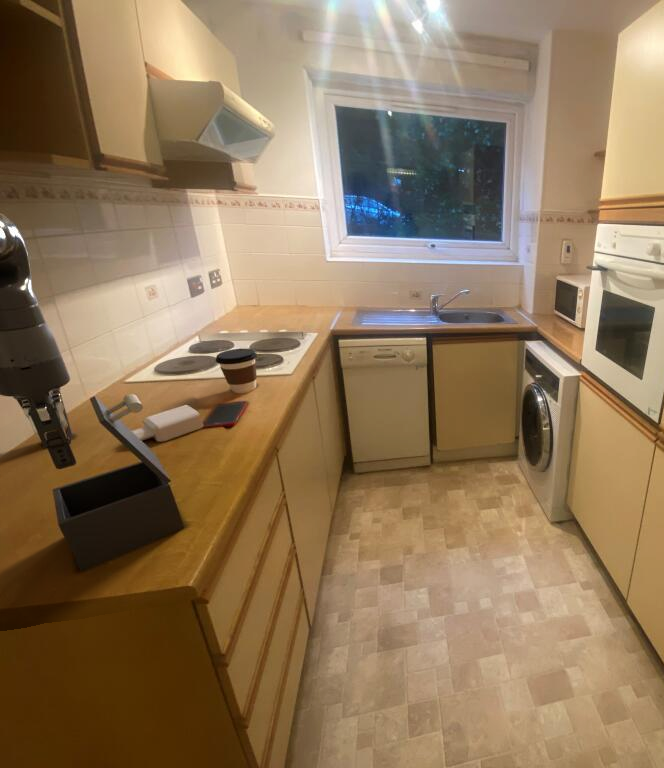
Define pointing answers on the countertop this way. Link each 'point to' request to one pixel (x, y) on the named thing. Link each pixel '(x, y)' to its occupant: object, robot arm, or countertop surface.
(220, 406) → the cell phone
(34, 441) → the countertop surface
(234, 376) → the coffee cup
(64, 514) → the open grey storage box
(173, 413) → the charger
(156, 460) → the lid
